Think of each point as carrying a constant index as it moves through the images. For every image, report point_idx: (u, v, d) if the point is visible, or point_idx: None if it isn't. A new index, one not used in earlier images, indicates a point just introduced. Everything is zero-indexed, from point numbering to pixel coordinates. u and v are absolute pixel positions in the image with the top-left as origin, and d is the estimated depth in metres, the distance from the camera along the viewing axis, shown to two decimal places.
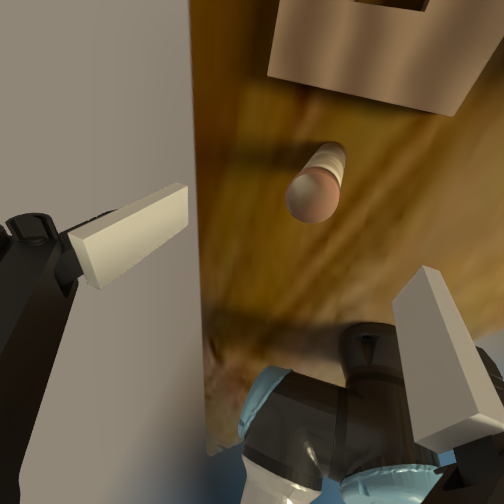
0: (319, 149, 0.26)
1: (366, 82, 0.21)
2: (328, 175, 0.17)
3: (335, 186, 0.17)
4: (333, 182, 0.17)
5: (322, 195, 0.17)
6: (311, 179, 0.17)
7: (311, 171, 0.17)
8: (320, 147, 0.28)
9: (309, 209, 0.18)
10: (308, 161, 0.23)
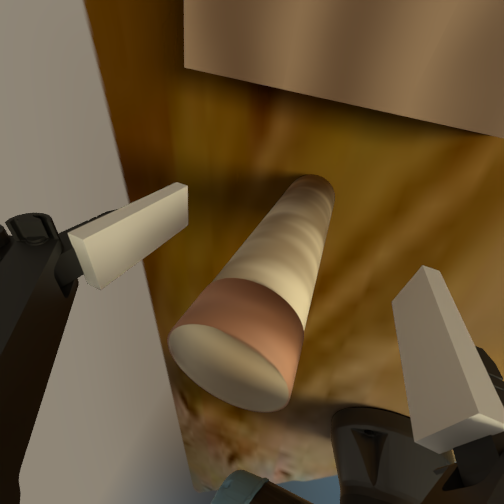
0: (286, 193, 0.16)
1: (365, 76, 0.10)
2: (261, 327, 0.06)
3: (279, 365, 0.06)
4: (273, 354, 0.06)
5: (249, 374, 0.06)
6: (214, 338, 0.06)
7: (217, 312, 0.06)
8: (291, 186, 0.17)
9: (227, 386, 0.07)
10: (257, 226, 0.12)
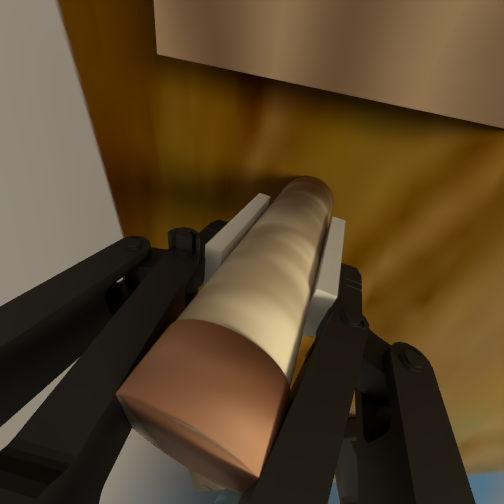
0: (278, 198, 0.14)
1: (368, 61, 0.09)
2: (227, 401, 0.04)
3: (249, 458, 0.04)
4: (240, 444, 0.04)
5: (213, 459, 0.05)
6: (162, 416, 0.04)
7: (167, 378, 0.05)
8: (284, 189, 0.15)
9: (190, 460, 0.06)
10: (242, 239, 0.11)
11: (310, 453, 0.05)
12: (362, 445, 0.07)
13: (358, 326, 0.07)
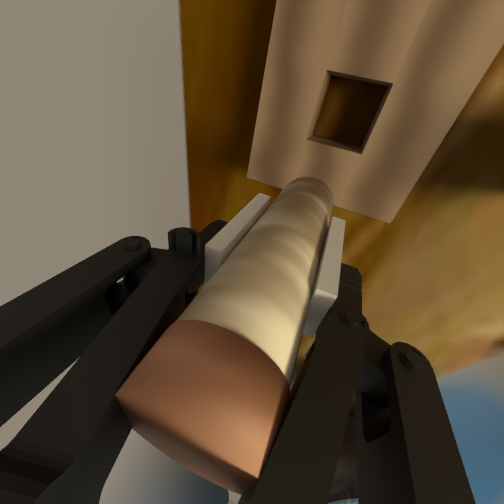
0: (278, 198, 0.14)
1: None
2: (226, 402, 0.04)
3: (249, 459, 0.04)
4: (240, 446, 0.04)
5: (212, 460, 0.05)
6: (161, 417, 0.04)
7: (166, 379, 0.05)
8: (284, 189, 0.15)
9: (190, 461, 0.06)
10: None
11: (310, 453, 0.05)
12: (362, 445, 0.07)
13: (358, 326, 0.07)
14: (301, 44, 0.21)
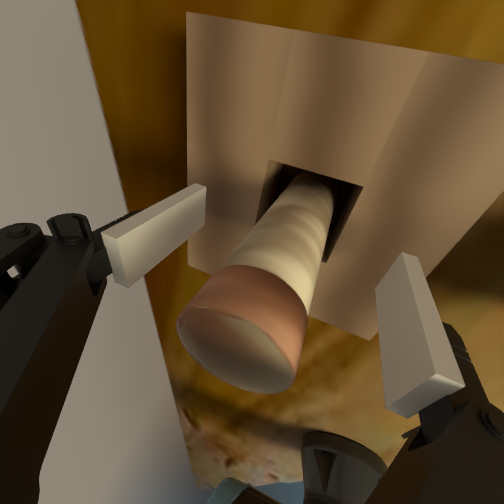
0: (290, 186, 0.16)
1: None
2: (267, 309, 0.06)
3: (284, 345, 0.06)
4: (278, 335, 0.06)
5: (255, 355, 0.07)
6: (222, 320, 0.06)
7: (224, 295, 0.07)
8: (294, 179, 0.17)
9: (233, 369, 0.08)
10: (261, 218, 0.12)
11: None
12: None
13: None
14: (229, 123, 0.14)
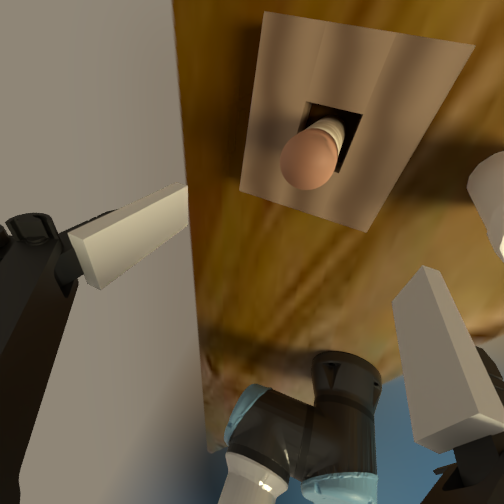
0: (317, 121, 0.25)
1: (307, 204, 0.30)
2: (325, 135, 0.16)
3: (332, 146, 0.16)
4: (330, 141, 0.16)
5: (319, 157, 0.16)
6: (307, 139, 0.16)
7: (307, 131, 0.16)
8: None
9: (305, 174, 0.17)
10: None
11: None
12: None
13: None
14: (282, 79, 0.24)
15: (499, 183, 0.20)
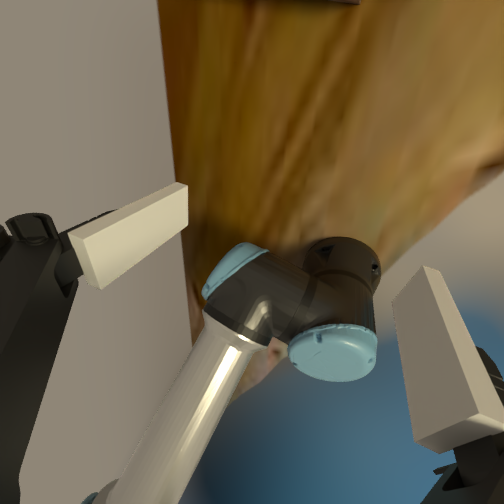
0: None
1: None
2: None
3: None
4: None
5: None
6: None
7: None
8: None
9: None
10: None
11: None
12: None
13: None
14: None
15: None
